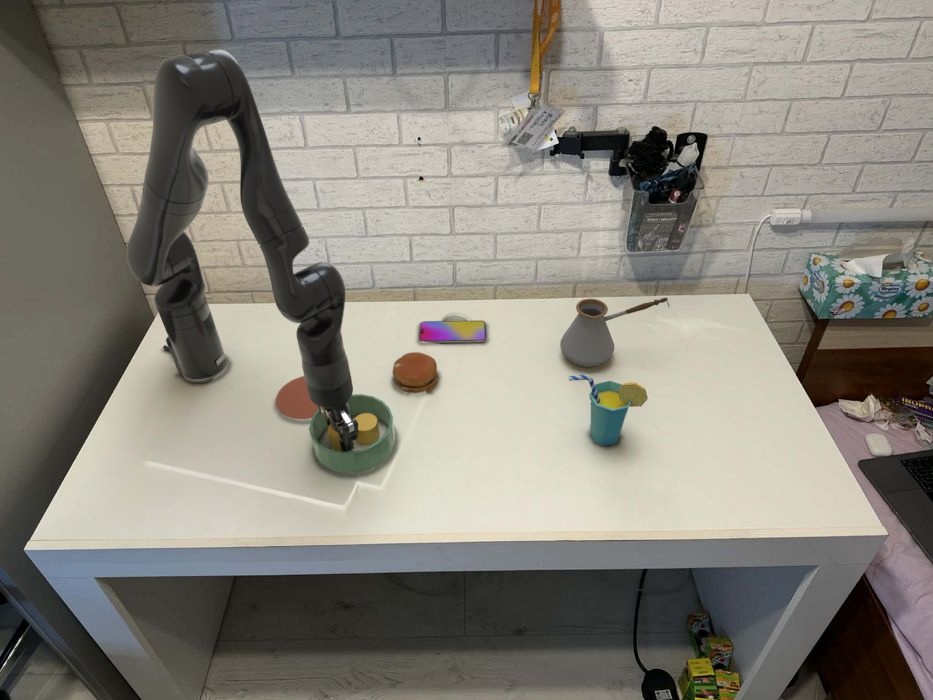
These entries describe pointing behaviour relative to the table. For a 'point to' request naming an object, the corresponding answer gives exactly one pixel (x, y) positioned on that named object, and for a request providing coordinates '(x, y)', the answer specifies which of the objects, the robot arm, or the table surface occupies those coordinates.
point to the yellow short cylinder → (367, 428)
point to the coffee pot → (593, 332)
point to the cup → (611, 407)
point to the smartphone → (452, 331)
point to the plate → (296, 400)
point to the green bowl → (359, 458)
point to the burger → (415, 372)
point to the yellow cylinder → (334, 438)
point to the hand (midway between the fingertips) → (341, 442)
